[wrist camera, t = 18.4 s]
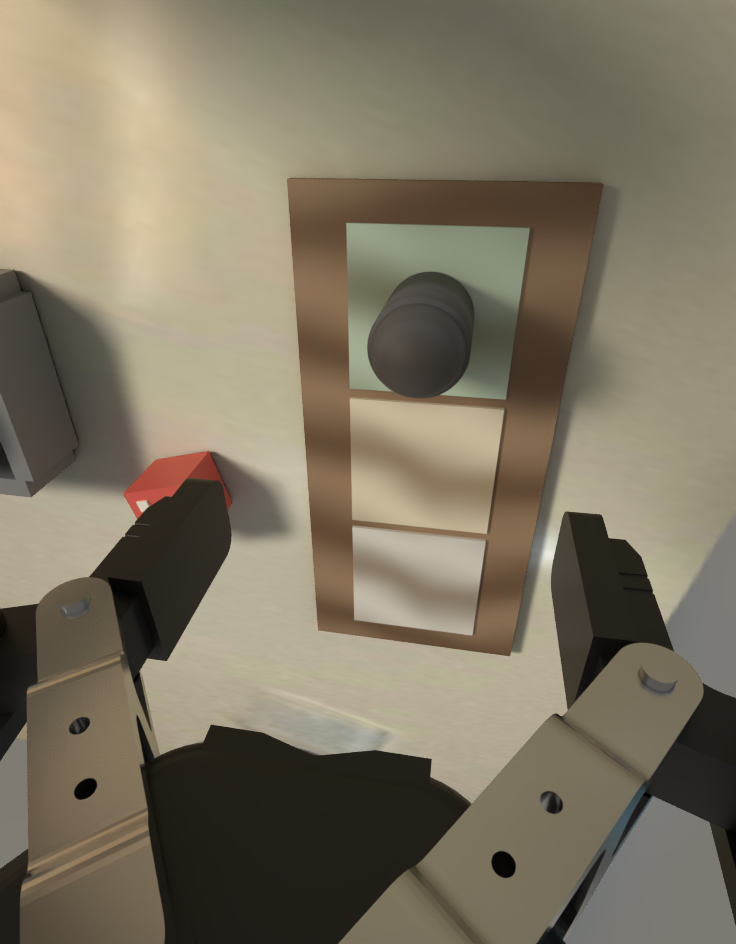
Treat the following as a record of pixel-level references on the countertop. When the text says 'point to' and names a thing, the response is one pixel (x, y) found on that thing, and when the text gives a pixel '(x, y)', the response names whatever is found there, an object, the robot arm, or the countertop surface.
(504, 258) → the game board
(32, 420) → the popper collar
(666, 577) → the countertop surface
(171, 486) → the red die
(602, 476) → the countertop surface
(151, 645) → the robot arm
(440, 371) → the dark grey capsule
